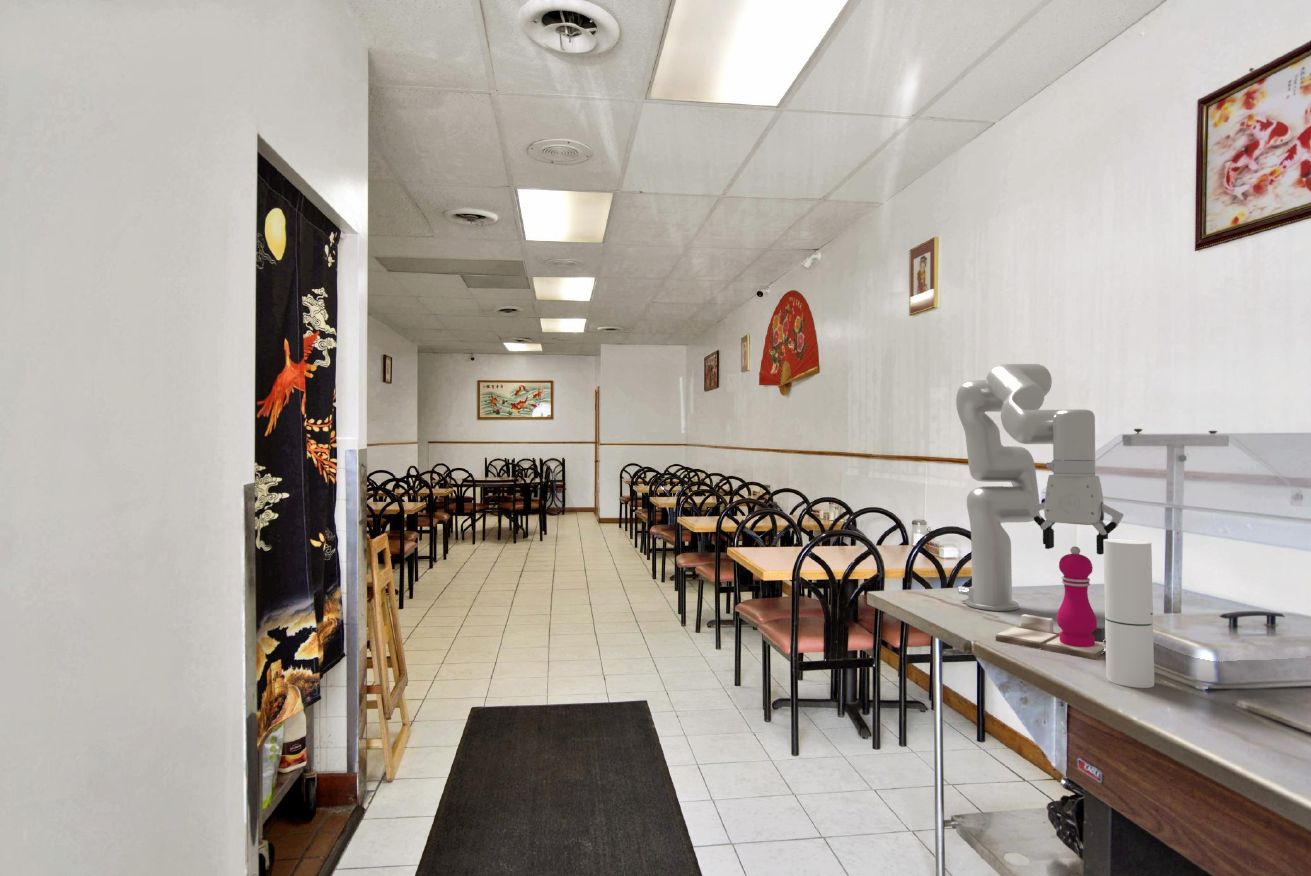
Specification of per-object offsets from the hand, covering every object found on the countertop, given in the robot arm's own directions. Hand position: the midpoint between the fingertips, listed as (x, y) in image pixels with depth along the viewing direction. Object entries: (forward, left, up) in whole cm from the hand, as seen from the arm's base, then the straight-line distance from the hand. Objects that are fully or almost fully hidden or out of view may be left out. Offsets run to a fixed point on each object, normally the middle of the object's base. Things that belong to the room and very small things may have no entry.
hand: (1074, 550), depth 146 cm
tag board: (-5, +1, -20) cm, 21 cm away
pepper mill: (0, 0, -19) cm, 19 cm away
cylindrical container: (+13, -15, -21) cm, 29 cm away
